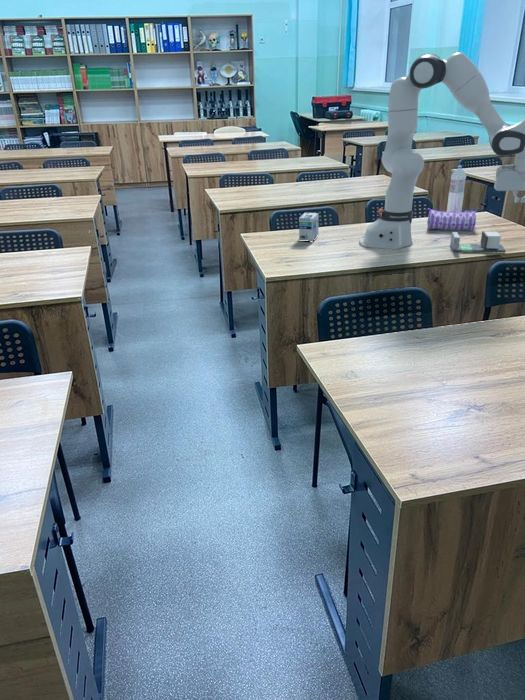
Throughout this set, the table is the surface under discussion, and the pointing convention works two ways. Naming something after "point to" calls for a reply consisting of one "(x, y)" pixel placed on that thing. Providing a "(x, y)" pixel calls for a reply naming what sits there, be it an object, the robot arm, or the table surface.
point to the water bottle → (456, 190)
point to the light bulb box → (308, 226)
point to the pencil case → (451, 220)
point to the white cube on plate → (490, 239)
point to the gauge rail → (470, 246)
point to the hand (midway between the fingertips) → (519, 202)
